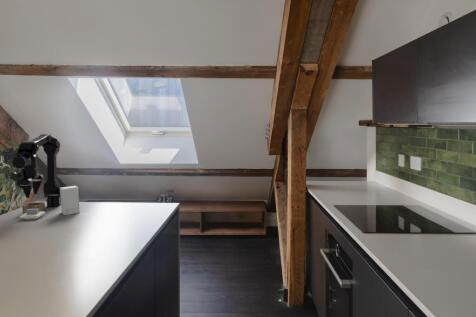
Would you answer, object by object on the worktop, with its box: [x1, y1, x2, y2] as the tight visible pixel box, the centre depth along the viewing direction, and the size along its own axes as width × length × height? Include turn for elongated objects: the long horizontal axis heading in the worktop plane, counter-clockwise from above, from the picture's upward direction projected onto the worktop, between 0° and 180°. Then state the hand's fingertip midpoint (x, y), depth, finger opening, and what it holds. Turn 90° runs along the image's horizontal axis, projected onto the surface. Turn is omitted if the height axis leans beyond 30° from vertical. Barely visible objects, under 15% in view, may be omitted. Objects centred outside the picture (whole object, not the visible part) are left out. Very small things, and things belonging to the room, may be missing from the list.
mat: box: [18, 210, 54, 221], centre depth 171 cm, size 11×16×1 cm
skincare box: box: [60, 185, 81, 216], centre depth 176 cm, size 8×6×15 cm
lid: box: [19, 208, 46, 219], centre depth 167 cm, size 9×9×4 cm
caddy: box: [22, 201, 46, 215], centre depth 175 cm, size 8×8×5 cm
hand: (31, 196), depth 166 cm, fingers open, 9 cm apart
